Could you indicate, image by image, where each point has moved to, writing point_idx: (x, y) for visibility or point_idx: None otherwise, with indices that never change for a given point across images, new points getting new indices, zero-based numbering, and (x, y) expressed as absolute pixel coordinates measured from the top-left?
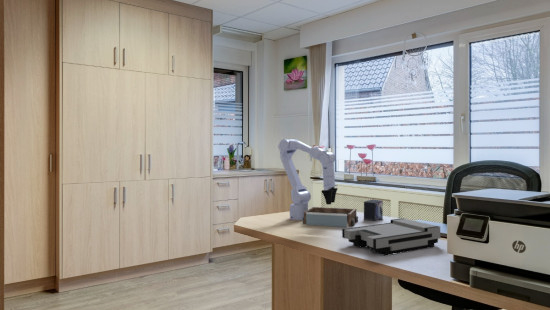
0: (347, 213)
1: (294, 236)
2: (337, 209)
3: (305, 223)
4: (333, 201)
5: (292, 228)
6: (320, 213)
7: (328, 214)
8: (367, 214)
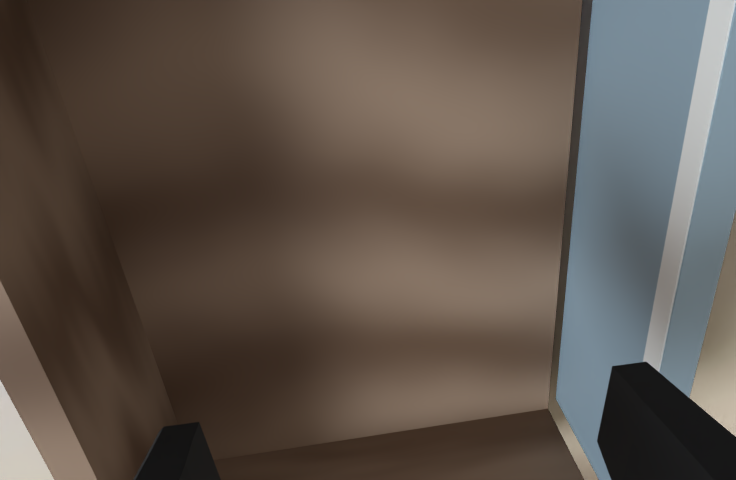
0: None
1: None
2: (20, 284)
3: (550, 419)
4: (198, 461)
5: None
6: (698, 354)
7: (721, 218)
8: None
